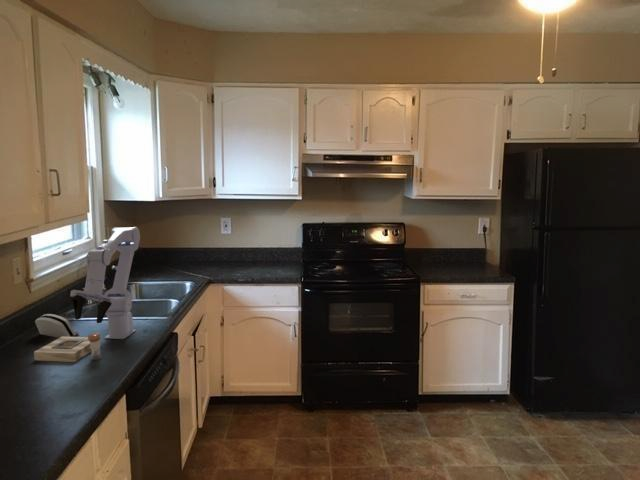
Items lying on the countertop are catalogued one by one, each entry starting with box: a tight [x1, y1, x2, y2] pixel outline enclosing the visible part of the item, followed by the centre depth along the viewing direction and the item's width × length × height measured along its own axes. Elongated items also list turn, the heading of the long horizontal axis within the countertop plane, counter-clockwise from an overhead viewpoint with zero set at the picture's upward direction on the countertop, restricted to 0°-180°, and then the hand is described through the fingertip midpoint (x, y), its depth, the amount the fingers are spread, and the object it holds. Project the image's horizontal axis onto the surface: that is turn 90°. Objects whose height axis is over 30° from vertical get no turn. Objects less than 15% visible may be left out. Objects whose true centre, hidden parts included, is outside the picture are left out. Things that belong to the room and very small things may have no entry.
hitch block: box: [33, 336, 101, 363], centre depth 175 cm, size 15×15×3 cm
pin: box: [87, 333, 102, 361], centre depth 169 cm, size 4×4×8 cm
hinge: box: [34, 313, 80, 339], centre depth 192 cm, size 17×5×10 cm, turn 65°
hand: (88, 321), depth 167 cm, fingers open, 7 cm apart
